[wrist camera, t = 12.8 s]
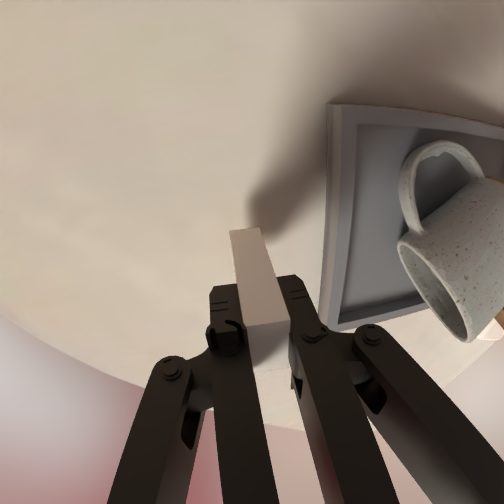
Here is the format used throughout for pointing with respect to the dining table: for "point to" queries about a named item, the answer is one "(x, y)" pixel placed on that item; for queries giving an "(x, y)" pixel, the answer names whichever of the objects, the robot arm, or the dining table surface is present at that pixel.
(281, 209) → the dining table surface
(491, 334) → the soap
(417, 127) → the tray
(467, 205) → the ceramic mug
